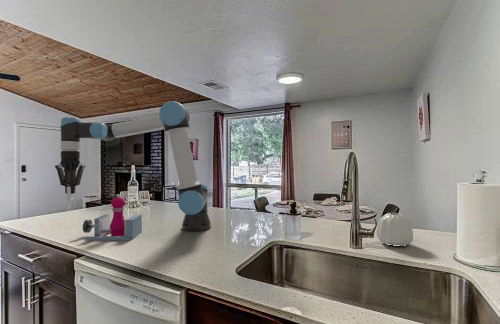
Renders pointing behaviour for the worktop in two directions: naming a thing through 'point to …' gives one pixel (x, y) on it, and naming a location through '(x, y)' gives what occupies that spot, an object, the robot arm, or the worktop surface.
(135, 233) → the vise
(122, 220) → the pepper mill
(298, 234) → the worktop surface
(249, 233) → the worktop surface
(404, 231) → the white pumpkin
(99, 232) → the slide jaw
